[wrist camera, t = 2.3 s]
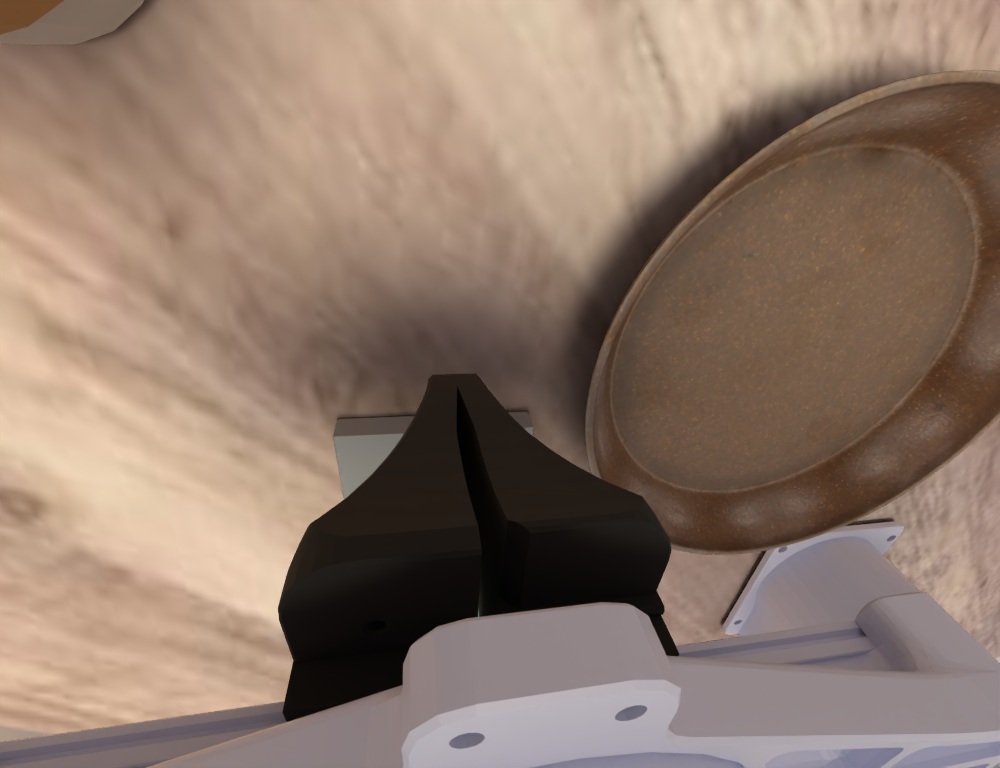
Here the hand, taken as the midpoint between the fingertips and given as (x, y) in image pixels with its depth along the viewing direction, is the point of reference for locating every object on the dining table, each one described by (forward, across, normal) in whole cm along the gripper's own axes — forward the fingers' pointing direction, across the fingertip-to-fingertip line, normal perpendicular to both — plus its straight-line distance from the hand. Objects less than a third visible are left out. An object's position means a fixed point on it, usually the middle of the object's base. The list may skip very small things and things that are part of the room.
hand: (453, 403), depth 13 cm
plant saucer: (+3, -13, 0) cm, 14 cm away
